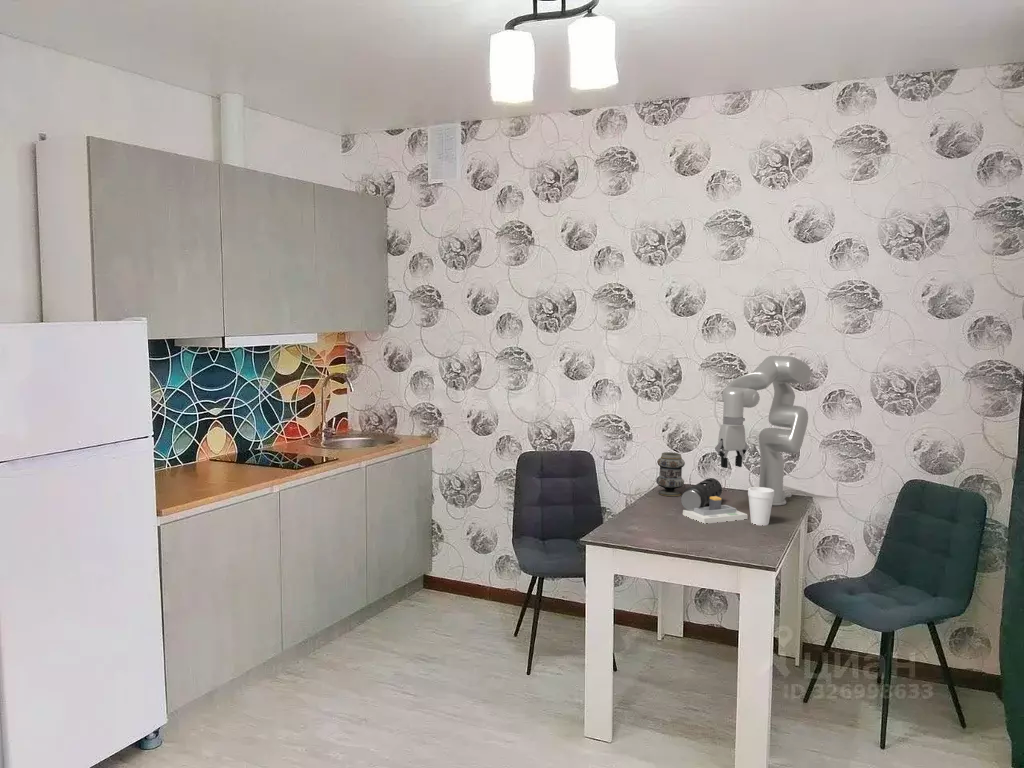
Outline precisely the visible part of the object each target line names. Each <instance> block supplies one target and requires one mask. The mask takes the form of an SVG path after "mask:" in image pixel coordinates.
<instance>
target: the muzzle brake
mask: <svg viewBox="0 0 1024 768" xmlns="http://www.w3.org/2000/svg"><path fill="white" fill-rule="evenodd" d="M722 493H723V486H722V483H720V481H719V480H717V479H716V478H713V477H711V478H710V477H708V478H705V479H704V480H702V481H700V482H698V483H696V484H695V485H693V486H689V487H687V488H686V489H685V490H684V491H682V493H681V495H680V496H681V497H680V501H681V505H682V507H683V508H684V510H689V511H694V508H700V507H706V506H707V505H709V501H710V497H712V496H717V497H720V496H721V494H722Z"/></svg>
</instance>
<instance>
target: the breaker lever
mask: <svg viewBox="0 0 1024 768" xmlns="http://www.w3.org/2000/svg"><path fill="white" fill-rule="evenodd" d="M708 505H709V506H708V507H709V510H717V509H721V505H722V497H720V496H719V497H717V496H712V497H710V501H709V504H708Z"/></svg>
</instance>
